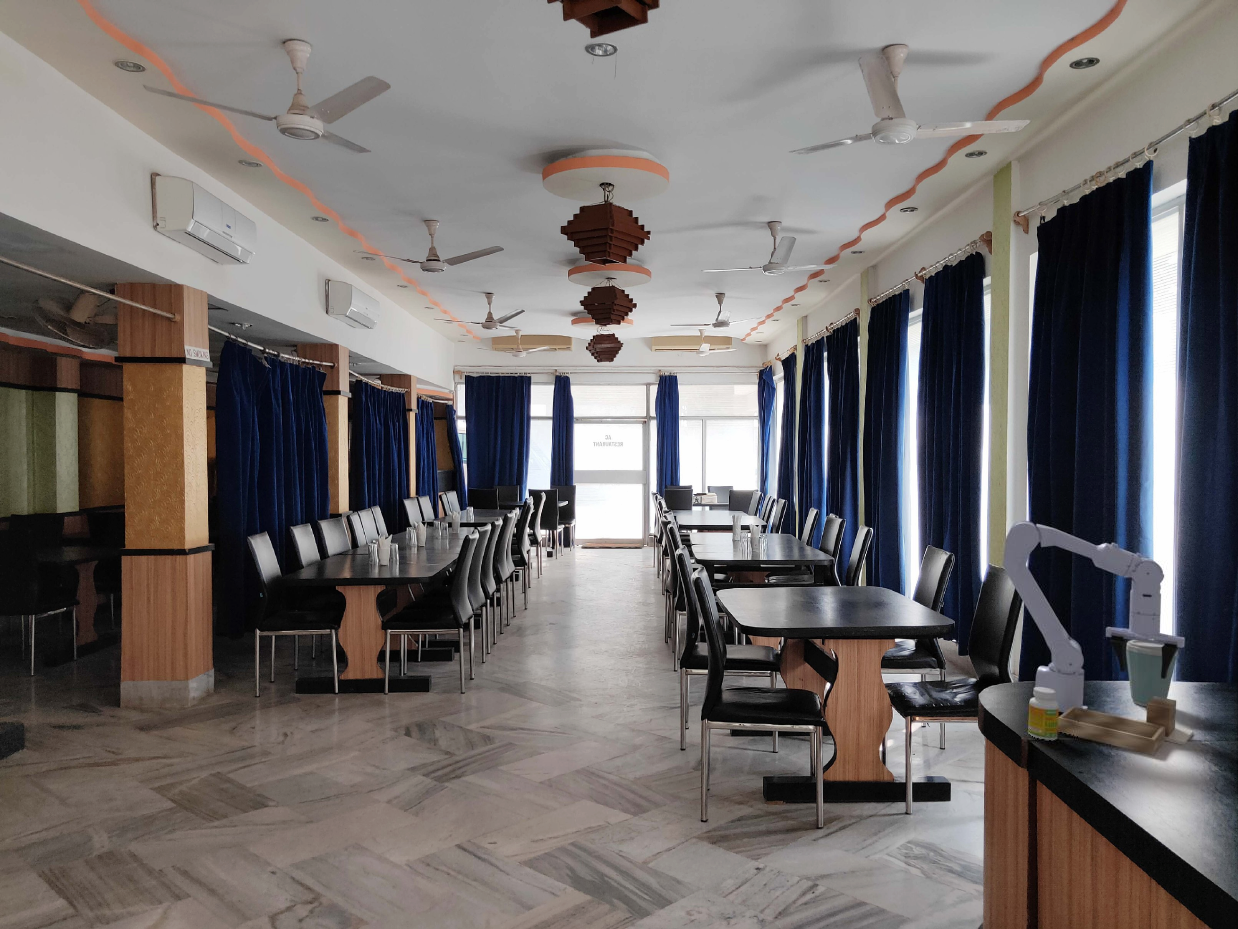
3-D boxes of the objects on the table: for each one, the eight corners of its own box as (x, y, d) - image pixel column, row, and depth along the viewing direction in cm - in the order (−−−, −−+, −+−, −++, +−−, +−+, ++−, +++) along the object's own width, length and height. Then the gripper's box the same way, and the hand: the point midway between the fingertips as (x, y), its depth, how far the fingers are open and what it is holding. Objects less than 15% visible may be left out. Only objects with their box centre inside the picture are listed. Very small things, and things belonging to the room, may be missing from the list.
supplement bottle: (1046, 742, 164) (1048, 695, 164) (1022, 733, 169) (1024, 687, 168) (1063, 739, 166) (1065, 692, 166) (1038, 730, 171) (1040, 684, 171)
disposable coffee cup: (1120, 704, 191) (1123, 641, 190) (1123, 694, 200) (1126, 633, 199) (1175, 714, 185) (1178, 649, 184) (1175, 703, 193) (1178, 640, 193)
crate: (1057, 731, 170) (1058, 717, 170) (1071, 719, 179) (1072, 706, 179) (1153, 755, 159) (1154, 739, 159) (1164, 741, 167) (1165, 726, 167)
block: (1145, 732, 170) (1147, 703, 170) (1152, 723, 176) (1154, 696, 176) (1168, 737, 167) (1169, 708, 167) (1174, 728, 173) (1176, 700, 173)
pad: (1127, 732, 172) (1128, 729, 172) (1137, 721, 179) (1138, 718, 179) (1184, 745, 165) (1185, 742, 165) (1192, 733, 172) (1192, 730, 172)
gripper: (1103, 610, 181) (1101, 670, 181) (1181, 620, 171) (1179, 684, 171) (1110, 606, 186) (1109, 665, 186) (1186, 616, 176) (1185, 678, 177)
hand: (1143, 674), depth 179 cm, fingers open, 7 cm apart
